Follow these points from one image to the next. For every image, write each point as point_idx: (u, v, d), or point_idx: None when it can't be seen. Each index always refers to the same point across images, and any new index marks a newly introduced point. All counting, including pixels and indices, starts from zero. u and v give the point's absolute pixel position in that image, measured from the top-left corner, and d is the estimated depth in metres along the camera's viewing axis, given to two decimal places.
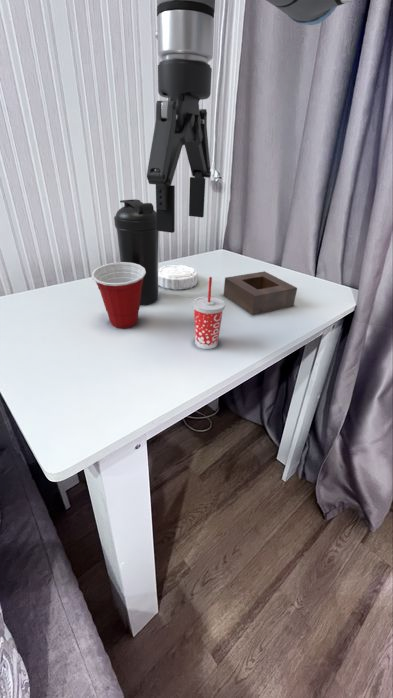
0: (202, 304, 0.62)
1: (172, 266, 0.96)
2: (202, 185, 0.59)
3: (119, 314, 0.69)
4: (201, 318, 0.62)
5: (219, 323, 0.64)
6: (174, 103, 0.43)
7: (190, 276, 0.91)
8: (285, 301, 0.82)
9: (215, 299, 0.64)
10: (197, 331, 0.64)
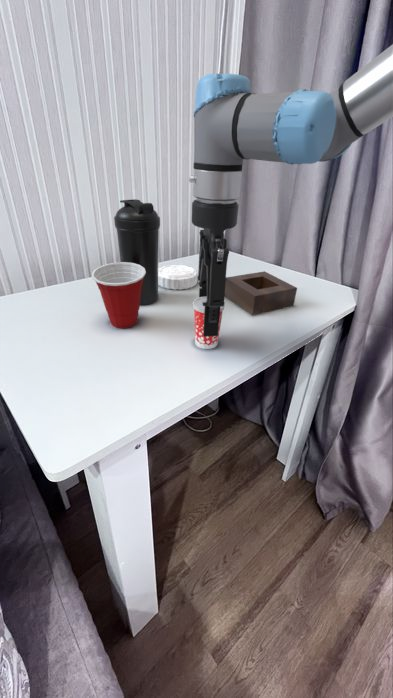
0: (202, 304, 0.62)
1: (172, 266, 0.96)
2: None
3: (119, 314, 0.69)
4: (201, 318, 0.62)
5: (219, 323, 0.64)
6: None
7: (190, 276, 0.91)
8: (285, 301, 0.82)
9: None
10: (197, 331, 0.64)
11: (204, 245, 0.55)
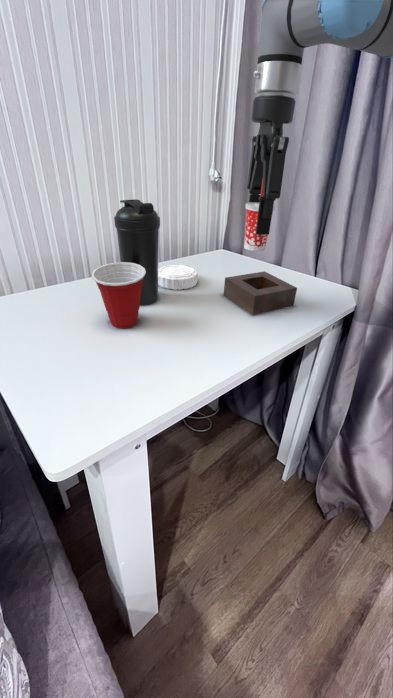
0: (254, 205, 0.68)
1: (172, 266, 0.96)
2: None
3: (119, 314, 0.69)
4: (254, 218, 0.68)
5: None
6: (288, 139, 0.58)
7: (190, 276, 0.91)
8: (285, 301, 0.82)
9: None
10: (248, 233, 0.70)
11: (263, 140, 0.61)
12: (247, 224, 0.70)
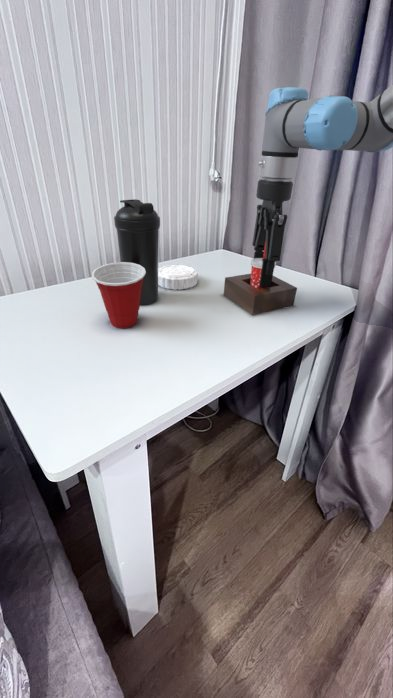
0: (258, 262, 0.80)
1: (172, 266, 0.96)
2: None
3: (119, 314, 0.69)
4: (258, 273, 0.80)
5: None
6: (286, 216, 0.70)
7: (190, 276, 0.91)
8: (285, 301, 0.82)
9: None
10: (253, 284, 0.83)
11: (266, 214, 0.73)
12: (252, 277, 0.82)
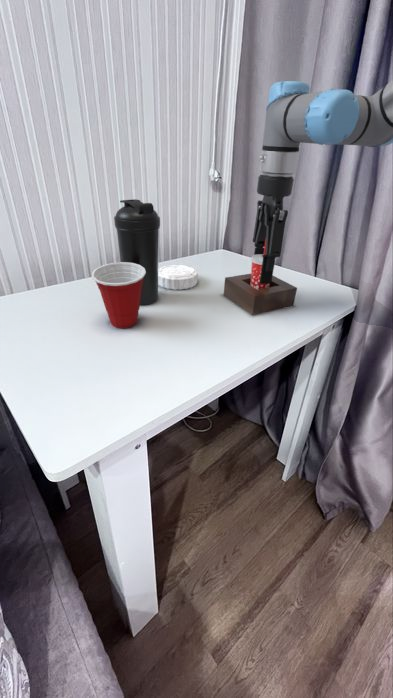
0: (259, 258, 0.80)
1: (172, 266, 0.96)
2: None
3: (119, 314, 0.69)
4: (258, 269, 0.80)
5: None
6: (287, 212, 0.69)
7: (190, 276, 0.91)
8: (285, 301, 0.82)
9: None
10: (253, 281, 0.82)
11: (266, 209, 0.73)
12: (252, 274, 0.82)
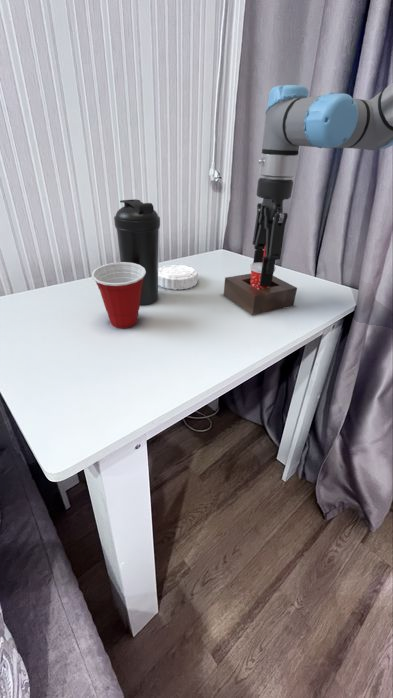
0: (258, 267, 0.81)
1: (172, 266, 0.96)
2: None
3: (119, 314, 0.69)
4: (257, 277, 0.81)
5: None
6: None
7: (190, 276, 0.91)
8: (285, 301, 0.82)
9: None
10: None
11: (266, 212, 0.73)
12: (252, 282, 0.83)
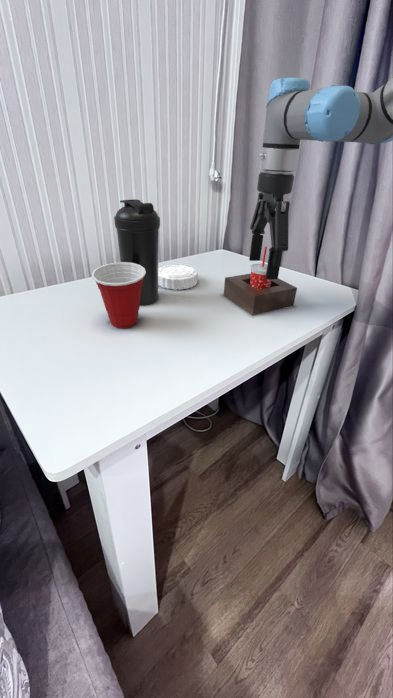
0: (258, 268, 0.81)
1: (172, 266, 0.96)
2: (261, 240, 0.85)
3: (119, 314, 0.69)
4: (257, 279, 0.81)
5: (270, 283, 0.83)
6: None
7: (190, 276, 0.91)
8: (285, 301, 0.82)
9: (266, 265, 0.83)
10: None
11: (267, 206, 0.72)
12: (251, 283, 0.83)
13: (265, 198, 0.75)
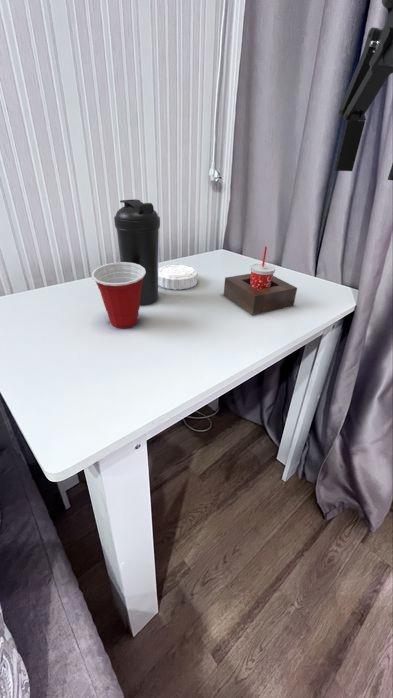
0: (258, 268, 0.81)
1: (172, 266, 0.96)
2: (361, 130, 0.49)
3: (119, 314, 0.69)
4: (257, 279, 0.81)
5: (270, 283, 0.83)
6: None
7: (190, 276, 0.91)
8: (285, 301, 0.82)
9: (266, 265, 0.83)
10: None
11: None
12: (251, 283, 0.83)
13: (392, 24, 0.39)
